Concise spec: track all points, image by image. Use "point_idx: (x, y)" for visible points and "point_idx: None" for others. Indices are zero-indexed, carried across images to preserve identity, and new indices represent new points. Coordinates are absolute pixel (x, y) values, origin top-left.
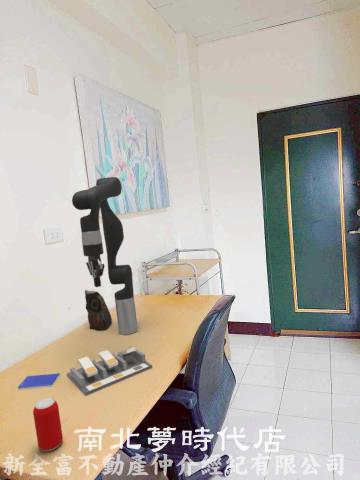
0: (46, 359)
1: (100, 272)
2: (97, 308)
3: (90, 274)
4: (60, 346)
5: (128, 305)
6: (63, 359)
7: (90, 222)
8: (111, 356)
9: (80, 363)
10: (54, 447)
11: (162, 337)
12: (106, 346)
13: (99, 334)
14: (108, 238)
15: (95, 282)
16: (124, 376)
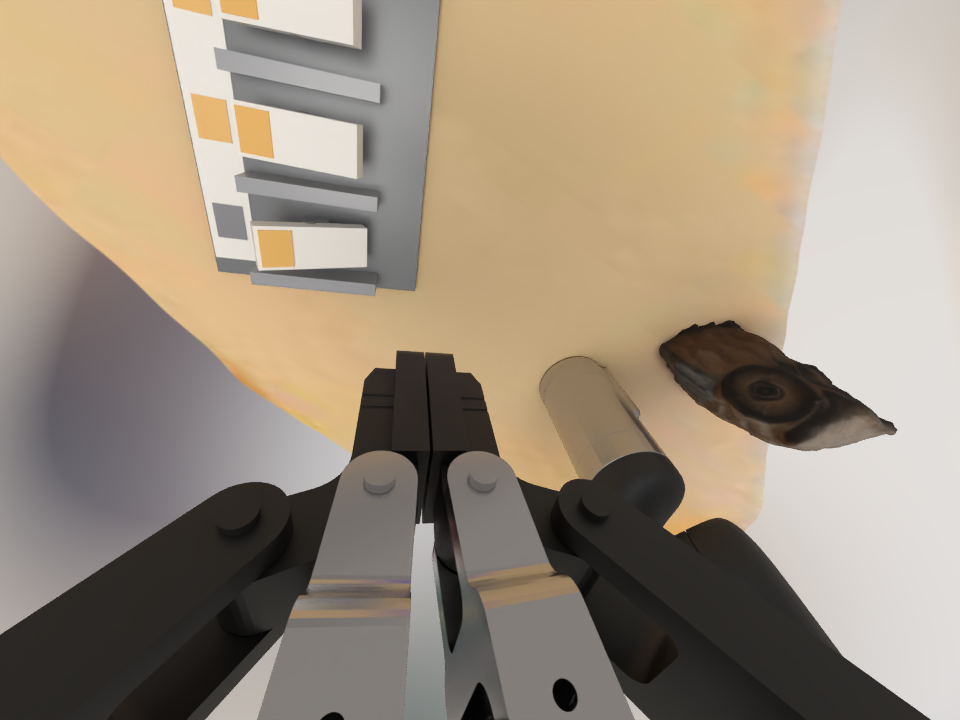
0: (701, 14)
1: (251, 644)
2: (738, 384)
3: (595, 491)
4: (737, 152)
5: (580, 455)
6: (616, 75)
7: None
8: (293, 157)
9: None
10: None
11: None
12: (542, 271)
13: (655, 314)
14: None
15: (392, 392)
16: (192, 136)
